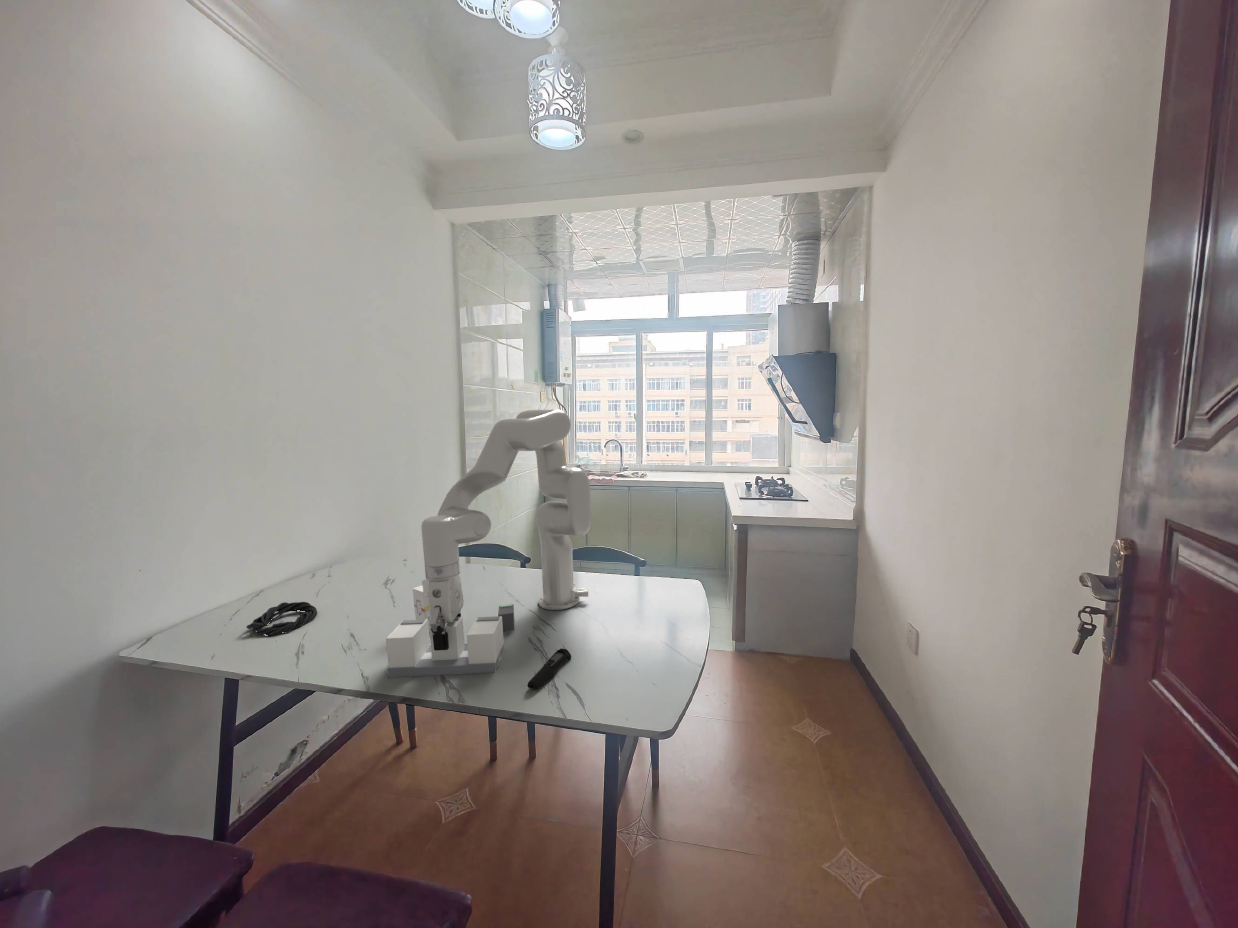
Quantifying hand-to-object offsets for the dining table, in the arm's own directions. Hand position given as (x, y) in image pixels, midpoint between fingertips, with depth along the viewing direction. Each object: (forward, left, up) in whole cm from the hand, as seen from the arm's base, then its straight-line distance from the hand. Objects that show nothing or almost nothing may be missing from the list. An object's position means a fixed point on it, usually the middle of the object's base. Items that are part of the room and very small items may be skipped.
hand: (448, 638), depth 109 cm
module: (0, 0, -4) cm, 4 cm away
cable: (+55, -27, -6) cm, 62 cm away
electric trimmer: (-25, +7, -6) cm, 26 cm away
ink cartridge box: (+11, -21, -6) cm, 24 cm away
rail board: (0, 0, -6) cm, 6 cm away
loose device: (-10, -18, -6) cm, 21 cm away
